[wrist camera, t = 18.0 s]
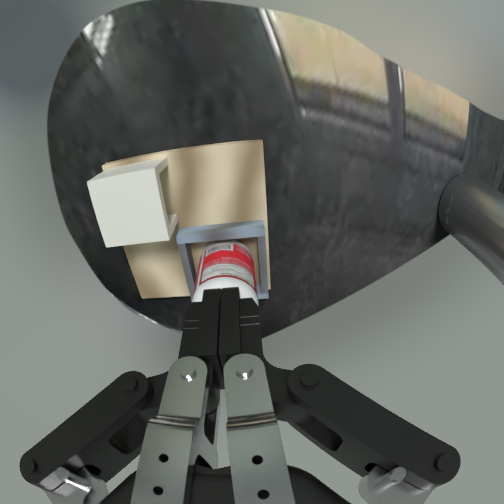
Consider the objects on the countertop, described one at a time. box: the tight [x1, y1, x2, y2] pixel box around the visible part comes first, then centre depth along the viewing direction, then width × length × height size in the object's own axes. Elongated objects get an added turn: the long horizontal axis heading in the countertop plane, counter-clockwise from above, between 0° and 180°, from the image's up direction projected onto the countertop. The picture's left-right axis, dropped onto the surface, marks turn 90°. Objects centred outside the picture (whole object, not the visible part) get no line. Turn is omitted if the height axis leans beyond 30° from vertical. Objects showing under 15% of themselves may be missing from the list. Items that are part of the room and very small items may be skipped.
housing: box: [87, 157, 178, 247], centre depth 25 cm, size 7×7×4 cm
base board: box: [102, 140, 270, 300], centre depth 29 cm, size 17×18×4 cm
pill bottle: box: [192, 239, 258, 305], centre depth 27 cm, size 6×6×11 cm
